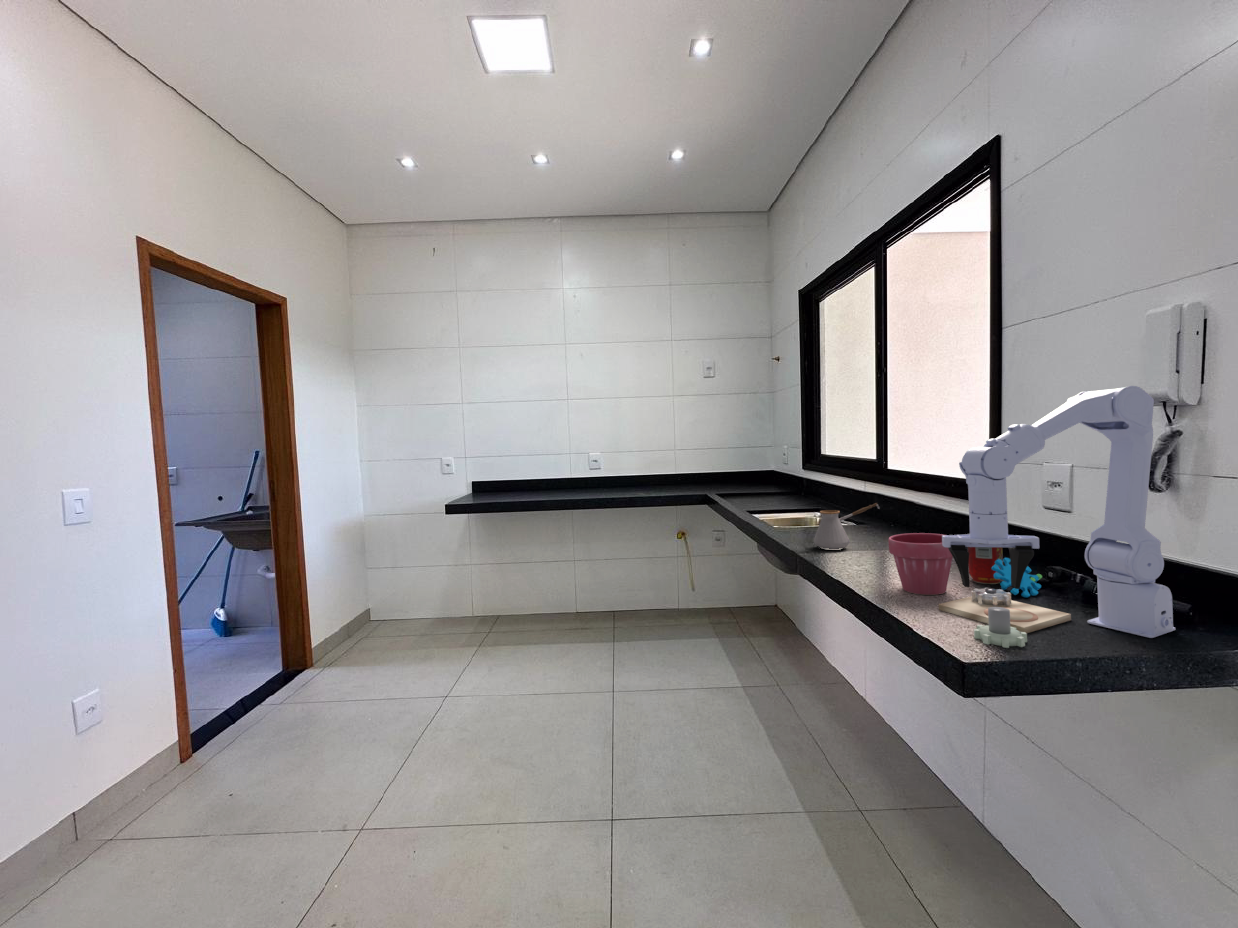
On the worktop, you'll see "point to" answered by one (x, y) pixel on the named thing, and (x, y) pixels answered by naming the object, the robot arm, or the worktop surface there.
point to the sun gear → (991, 596)
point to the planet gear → (1000, 630)
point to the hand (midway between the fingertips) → (990, 586)
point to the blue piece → (1025, 583)
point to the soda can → (984, 563)
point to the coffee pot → (834, 529)
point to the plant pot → (921, 562)
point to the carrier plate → (1020, 614)
